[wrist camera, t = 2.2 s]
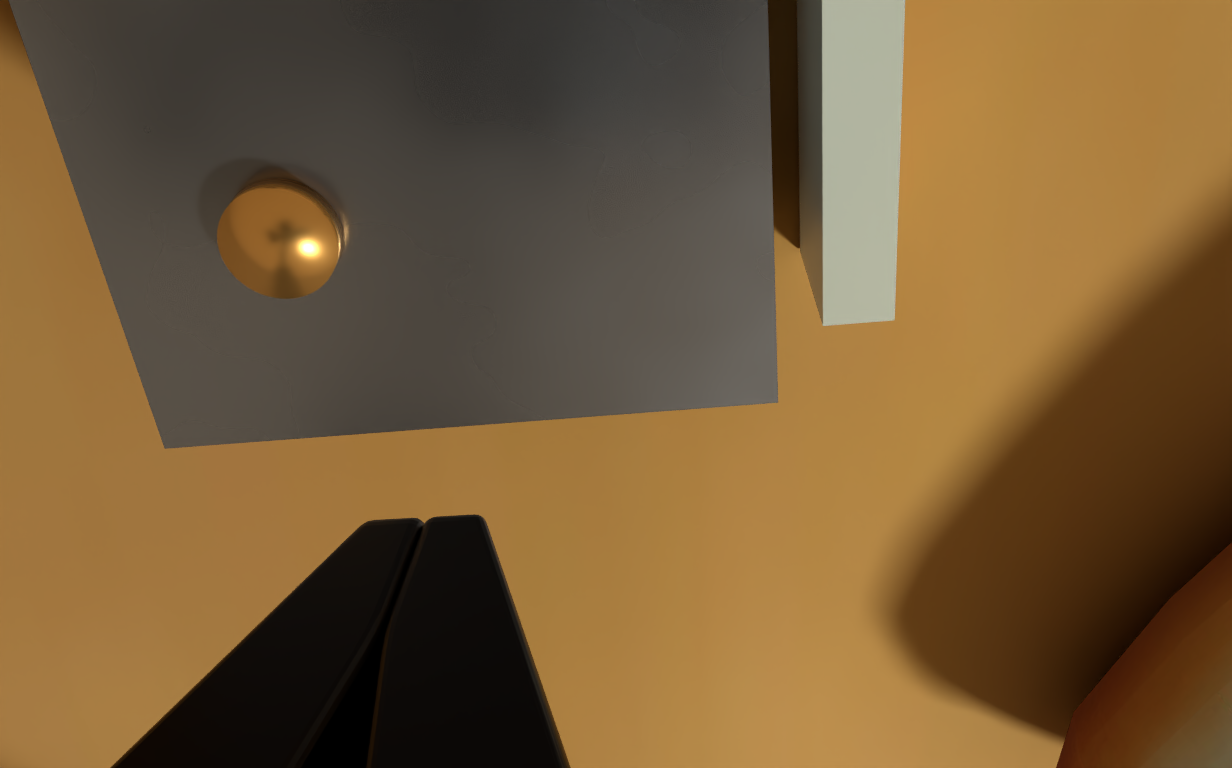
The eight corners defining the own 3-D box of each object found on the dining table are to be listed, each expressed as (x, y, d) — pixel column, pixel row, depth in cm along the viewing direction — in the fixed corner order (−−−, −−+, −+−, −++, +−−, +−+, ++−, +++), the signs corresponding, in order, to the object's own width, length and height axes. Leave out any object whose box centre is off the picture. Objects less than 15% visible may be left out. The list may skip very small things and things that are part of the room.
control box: (277, 254, 19) (137, 487, 13) (108, -386, 14) (-200, -424, 9) (754, 214, 18) (808, 438, 13) (731, -458, 14) (798, -541, 9)
